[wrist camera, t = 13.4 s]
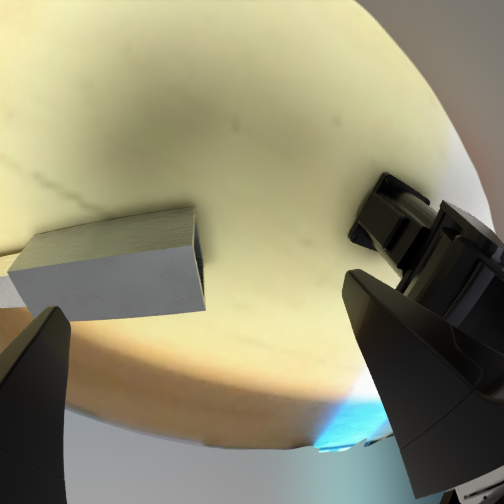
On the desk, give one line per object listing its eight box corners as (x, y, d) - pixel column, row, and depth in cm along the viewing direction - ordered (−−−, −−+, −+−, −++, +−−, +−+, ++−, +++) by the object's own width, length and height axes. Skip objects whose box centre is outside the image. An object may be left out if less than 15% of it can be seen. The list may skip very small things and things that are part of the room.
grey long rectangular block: (194, 206, 19) (192, 245, 15) (204, 264, 22) (205, 310, 17) (34, 234, 17) (6, 271, 13) (56, 282, 20) (37, 322, 16)
